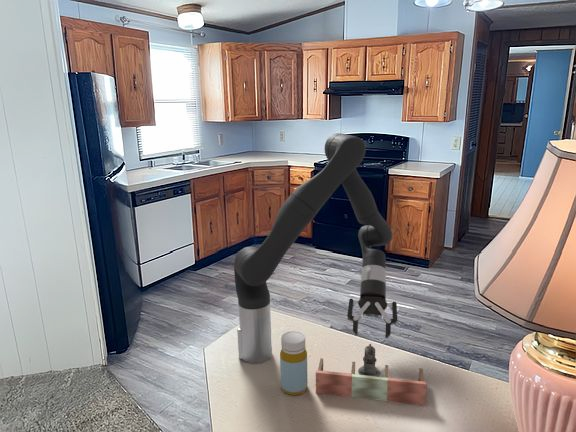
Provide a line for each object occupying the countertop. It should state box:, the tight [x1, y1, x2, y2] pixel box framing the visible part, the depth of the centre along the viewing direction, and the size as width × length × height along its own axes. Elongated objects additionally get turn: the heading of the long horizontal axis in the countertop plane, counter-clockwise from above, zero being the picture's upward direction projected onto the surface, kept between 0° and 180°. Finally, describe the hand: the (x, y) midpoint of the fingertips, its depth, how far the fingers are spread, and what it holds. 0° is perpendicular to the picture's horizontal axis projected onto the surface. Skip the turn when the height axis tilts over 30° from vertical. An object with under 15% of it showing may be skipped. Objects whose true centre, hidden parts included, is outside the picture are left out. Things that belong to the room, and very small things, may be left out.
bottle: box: [279, 330, 308, 396], centre depth 111 cm, size 7×7×15 cm
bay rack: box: [315, 357, 427, 406], centre depth 112 cm, size 27×10×6 cm, turn 78°
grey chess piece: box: [357, 343, 381, 377], centre depth 112 cm, size 6×6×12 cm
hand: (371, 336), depth 122 cm, fingers open, 8 cm apart
